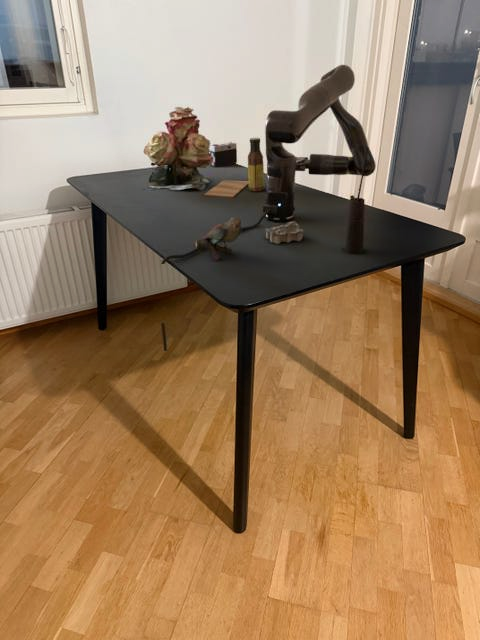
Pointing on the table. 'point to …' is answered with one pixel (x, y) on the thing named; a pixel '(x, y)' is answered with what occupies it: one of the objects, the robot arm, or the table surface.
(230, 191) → the flat copper plate
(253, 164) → the sauce bottle
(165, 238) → the table surface
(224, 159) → the camera
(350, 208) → the butter churn
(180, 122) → the rose bouquet
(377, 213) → the table surface
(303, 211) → the table surface
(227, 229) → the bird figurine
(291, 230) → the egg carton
